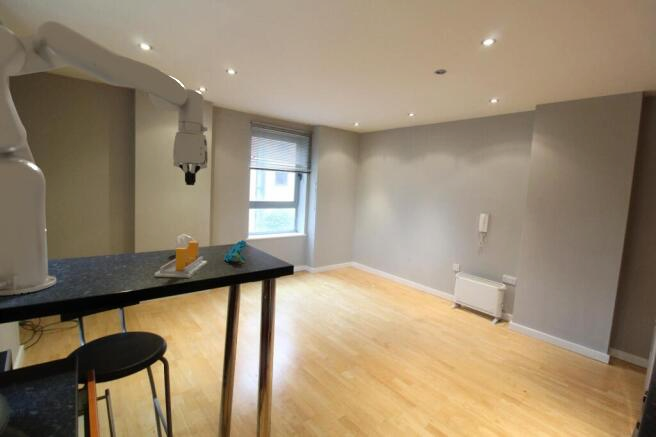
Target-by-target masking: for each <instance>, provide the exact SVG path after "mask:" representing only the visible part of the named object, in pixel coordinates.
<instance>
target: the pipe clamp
mask: <svg viewBox="0 0 656 437" xmlns="http://www.w3.org/2000/svg"><path fill="white" fill-rule="evenodd" d="M198 258H199V241H196V242H193V241H190V242H188V250H187V248H177V249H175V259H176V270H184V268H185V267H186V266H188V265H189V264H191V263H192V262H194V261H195V260H196V259H198Z"/></svg>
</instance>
